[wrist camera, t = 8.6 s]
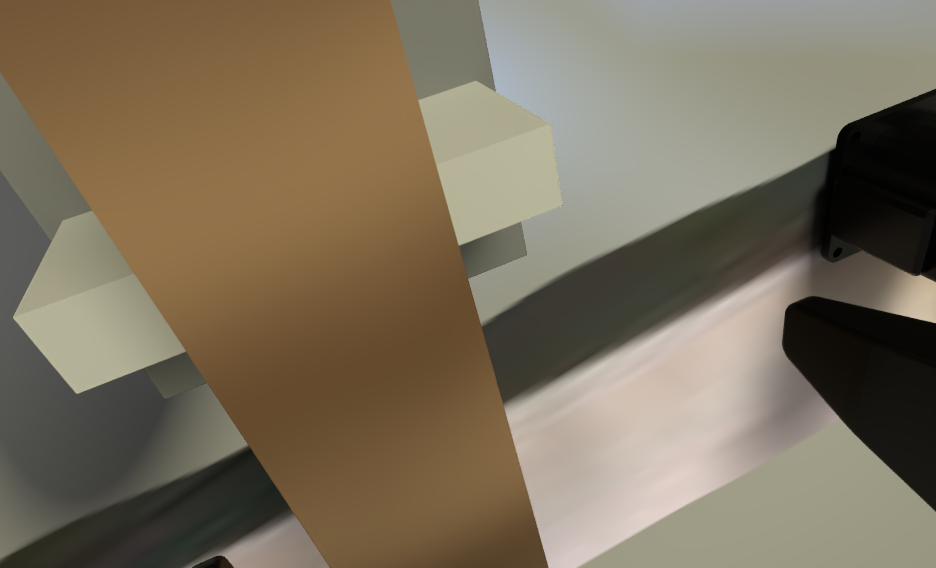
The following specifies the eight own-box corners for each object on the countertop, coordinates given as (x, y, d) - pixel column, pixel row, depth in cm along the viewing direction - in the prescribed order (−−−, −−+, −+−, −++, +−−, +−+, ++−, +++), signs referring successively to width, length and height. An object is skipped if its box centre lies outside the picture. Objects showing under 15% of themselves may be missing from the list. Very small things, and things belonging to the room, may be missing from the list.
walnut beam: (487, 456, 17) (551, 578, 14) (356, 517, 17) (391, 659, 13) (250, -280, 8) (274, -415, 5) (-58, -211, 8) (-257, -314, 4)
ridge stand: (441, -91, 16) (545, -99, 11) (509, 236, 21) (597, 327, 16) (-54, 49, 13) (-203, 116, 9) (167, 369, 19) (152, 520, 14)
